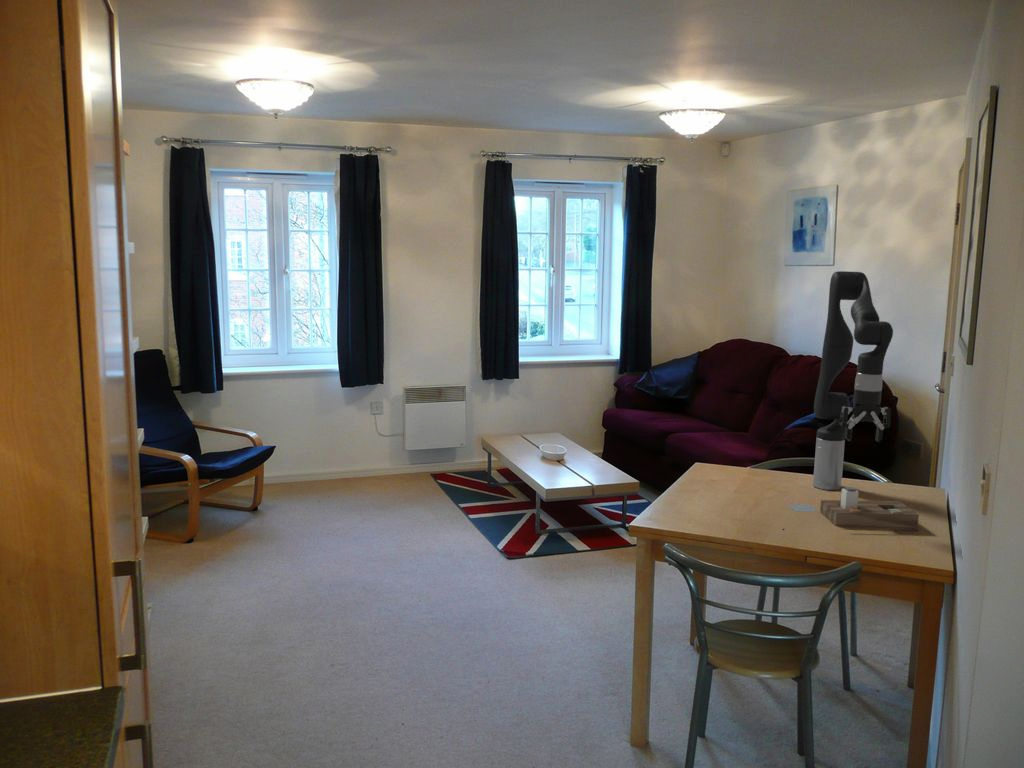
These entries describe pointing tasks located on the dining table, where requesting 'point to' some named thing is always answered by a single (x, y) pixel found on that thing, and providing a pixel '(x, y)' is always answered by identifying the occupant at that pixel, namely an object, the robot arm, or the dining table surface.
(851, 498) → the plug
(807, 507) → the thin square blue plate
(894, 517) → the socket block
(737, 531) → the dining table surface
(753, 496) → the dining table surface
